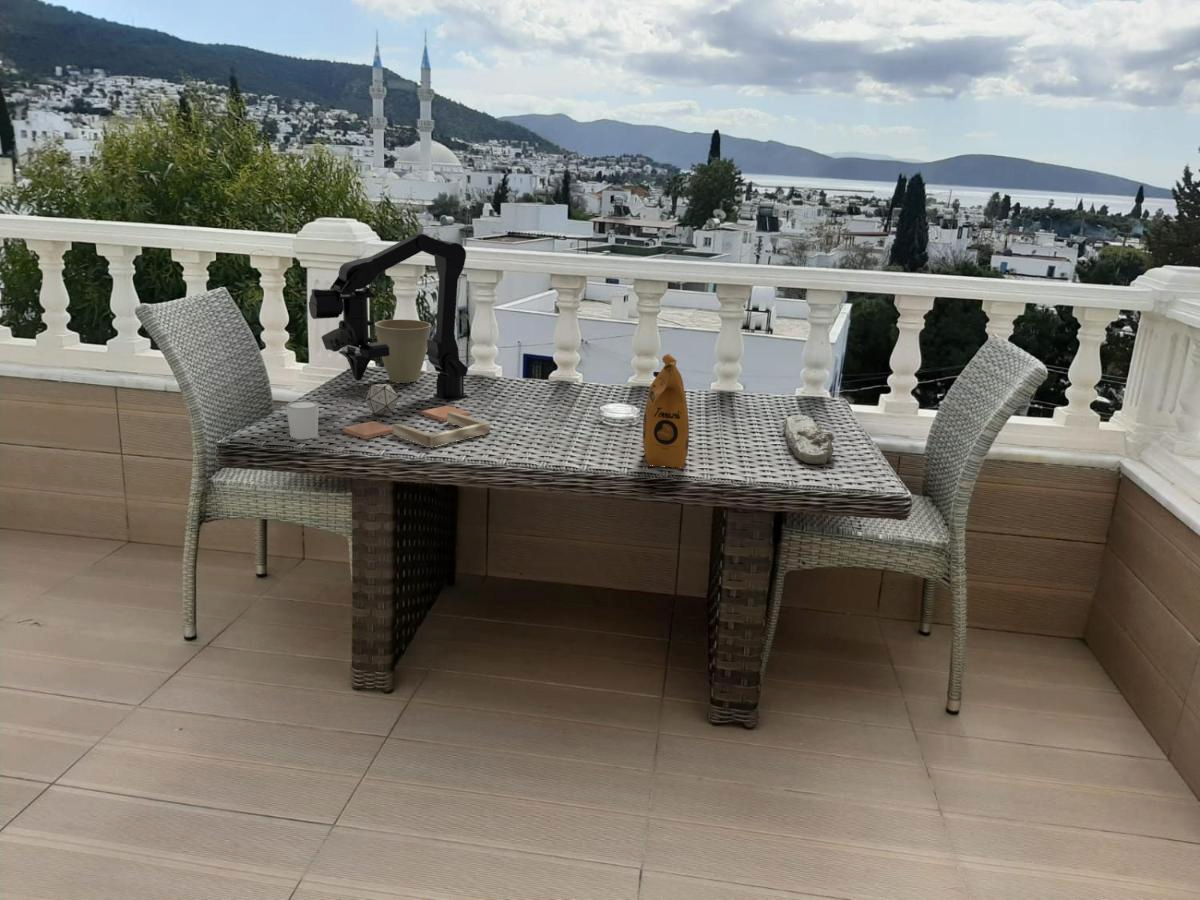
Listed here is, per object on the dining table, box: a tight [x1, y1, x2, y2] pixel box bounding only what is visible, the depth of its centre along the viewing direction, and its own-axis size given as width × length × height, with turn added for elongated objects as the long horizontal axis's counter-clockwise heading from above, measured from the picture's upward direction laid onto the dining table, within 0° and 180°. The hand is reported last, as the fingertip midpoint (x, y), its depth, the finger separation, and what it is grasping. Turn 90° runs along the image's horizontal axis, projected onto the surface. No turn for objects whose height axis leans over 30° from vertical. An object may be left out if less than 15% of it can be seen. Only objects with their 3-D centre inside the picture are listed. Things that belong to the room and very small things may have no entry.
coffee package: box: [642, 353, 690, 469], centre depth 188 cm, size 10×12×22 cm
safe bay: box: [392, 412, 491, 447], centre depth 201 cm, size 17×13×2 cm
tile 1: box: [342, 421, 394, 440], centre depth 201 cm, size 8×8×1 cm
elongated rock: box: [782, 414, 835, 465], centre depth 208 cm, size 35×5×10 cm
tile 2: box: [420, 405, 470, 422], centre depth 217 cm, size 8×8×1 cm
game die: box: [361, 380, 403, 418], centre depth 214 cm, size 9×8×10 cm
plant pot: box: [374, 319, 432, 384], centre depth 247 cm, size 15×15×16 cm
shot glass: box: [285, 400, 320, 440], centre depth 195 cm, size 7×7×7 cm
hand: (358, 380), depth 219 cm, fingers closed
